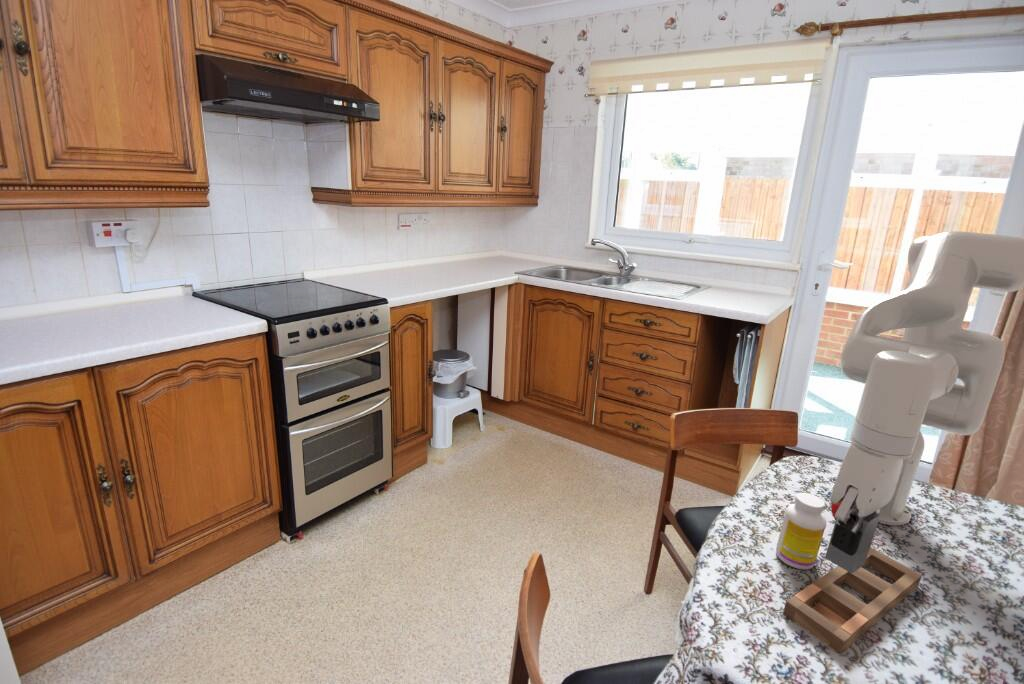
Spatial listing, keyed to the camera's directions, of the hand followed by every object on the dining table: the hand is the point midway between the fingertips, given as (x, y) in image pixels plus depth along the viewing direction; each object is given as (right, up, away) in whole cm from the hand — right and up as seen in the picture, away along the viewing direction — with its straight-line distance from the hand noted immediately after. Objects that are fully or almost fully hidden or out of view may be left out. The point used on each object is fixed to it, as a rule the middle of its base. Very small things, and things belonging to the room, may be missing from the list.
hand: (849, 543), depth 82 cm
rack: (+7, -13, +9) cm, 17 cm away
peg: (0, -3, +1) cm, 3 cm away
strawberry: (+16, -8, +27) cm, 33 cm away
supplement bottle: (+1, -10, +19) cm, 21 cm away
